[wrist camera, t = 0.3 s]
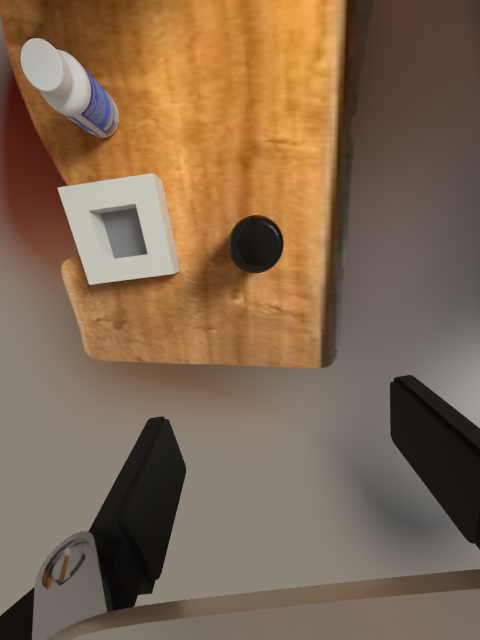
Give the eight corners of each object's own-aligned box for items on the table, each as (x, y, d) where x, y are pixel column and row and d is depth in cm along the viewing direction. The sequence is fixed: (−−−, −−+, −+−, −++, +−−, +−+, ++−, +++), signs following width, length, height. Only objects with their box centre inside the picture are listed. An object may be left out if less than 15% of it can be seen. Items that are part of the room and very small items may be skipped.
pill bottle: (111, 85, 31) (54, 17, 21) (126, 133, 32) (79, 90, 23) (72, 97, 31) (0, 35, 22) (89, 144, 33) (29, 105, 23)
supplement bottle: (274, 266, 38) (288, 277, 26) (232, 268, 38) (227, 279, 26) (275, 219, 35) (290, 209, 24) (229, 222, 36) (223, 212, 24)
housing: (75, 193, 35) (57, 187, 31) (161, 179, 34) (153, 173, 31) (102, 281, 39) (89, 284, 35) (180, 270, 38) (174, 273, 35)
